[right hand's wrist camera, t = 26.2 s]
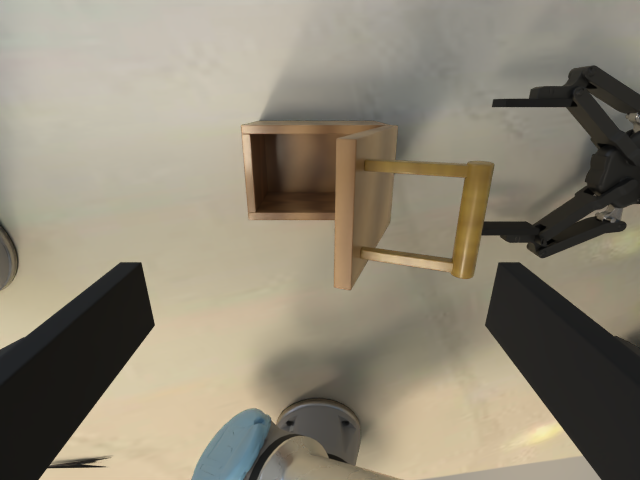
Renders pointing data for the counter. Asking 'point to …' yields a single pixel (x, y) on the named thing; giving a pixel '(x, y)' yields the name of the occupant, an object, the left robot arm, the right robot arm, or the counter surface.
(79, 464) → the feather
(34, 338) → the right robot arm
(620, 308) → the counter surface
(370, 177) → the lid
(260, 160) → the chest
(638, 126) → the left robot arm
